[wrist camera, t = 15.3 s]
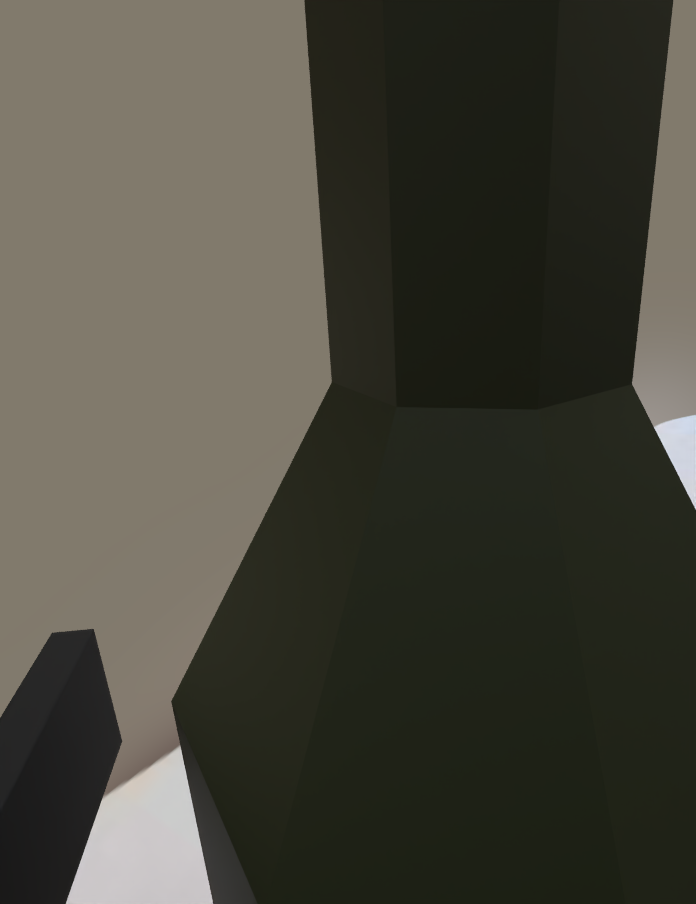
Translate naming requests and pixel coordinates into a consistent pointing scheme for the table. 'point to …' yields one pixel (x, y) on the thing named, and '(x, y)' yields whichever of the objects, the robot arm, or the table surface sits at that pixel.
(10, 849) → the robot arm
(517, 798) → the wine bottle
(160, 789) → the table surface
